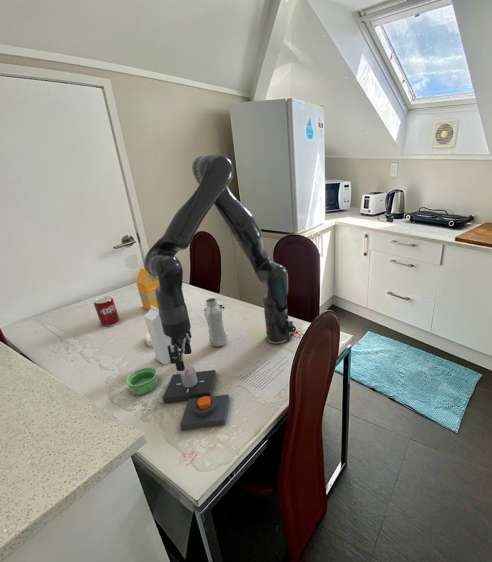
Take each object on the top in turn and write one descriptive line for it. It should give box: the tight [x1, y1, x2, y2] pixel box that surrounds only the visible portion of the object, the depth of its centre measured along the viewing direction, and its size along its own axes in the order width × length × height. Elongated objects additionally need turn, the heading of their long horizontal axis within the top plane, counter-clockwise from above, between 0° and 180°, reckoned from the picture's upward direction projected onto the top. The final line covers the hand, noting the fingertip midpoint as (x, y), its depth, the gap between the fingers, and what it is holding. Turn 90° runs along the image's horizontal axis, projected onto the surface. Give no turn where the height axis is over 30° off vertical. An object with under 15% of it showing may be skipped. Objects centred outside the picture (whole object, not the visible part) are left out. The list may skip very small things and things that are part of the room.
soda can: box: [93, 296, 120, 328], centre depth 140 cm, size 7×7×12 cm
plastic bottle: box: [203, 297, 228, 347], centre depth 123 cm, size 6×7×20 cm
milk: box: [143, 305, 177, 365], centre depth 114 cm, size 6×6×22 cm
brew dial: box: [179, 365, 197, 388], centre depth 101 cm, size 4×4×5 cm
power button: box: [197, 396, 211, 410], centre depth 92 cm, size 4×4×2 cm
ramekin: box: [125, 366, 159, 395], centre depth 104 cm, size 9×9×4 cm
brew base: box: [162, 369, 217, 405], centre depth 103 cm, size 14×11×3 cm
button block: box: [179, 393, 230, 431], centre depth 93 cm, size 12×10×4 cm
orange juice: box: [135, 268, 159, 311], centre depth 153 cm, size 8×9×20 cm
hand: (184, 361), depth 99 cm, fingers open, 8 cm apart
